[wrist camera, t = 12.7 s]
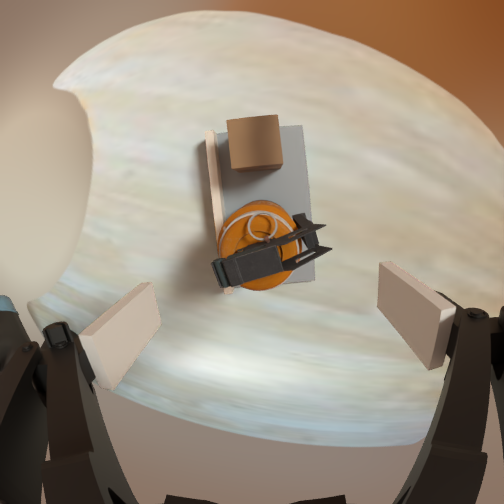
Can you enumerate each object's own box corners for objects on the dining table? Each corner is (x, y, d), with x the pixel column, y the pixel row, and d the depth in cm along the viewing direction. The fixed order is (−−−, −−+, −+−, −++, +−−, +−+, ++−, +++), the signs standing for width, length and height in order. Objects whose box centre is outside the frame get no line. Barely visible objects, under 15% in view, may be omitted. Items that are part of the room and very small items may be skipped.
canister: (224, 210, 41) (185, 231, 22) (295, 187, 40) (320, 187, 20) (243, 265, 43) (223, 328, 23) (312, 244, 41) (347, 292, 22)
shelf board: (226, 285, 45) (223, 294, 41) (209, 136, 40) (203, 131, 36) (314, 277, 44) (318, 286, 40) (301, 126, 39) (304, 120, 35)
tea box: (238, 173, 40) (230, 168, 31) (234, 134, 38) (225, 120, 30) (280, 168, 39) (283, 163, 30) (275, 130, 38) (277, 114, 29)
